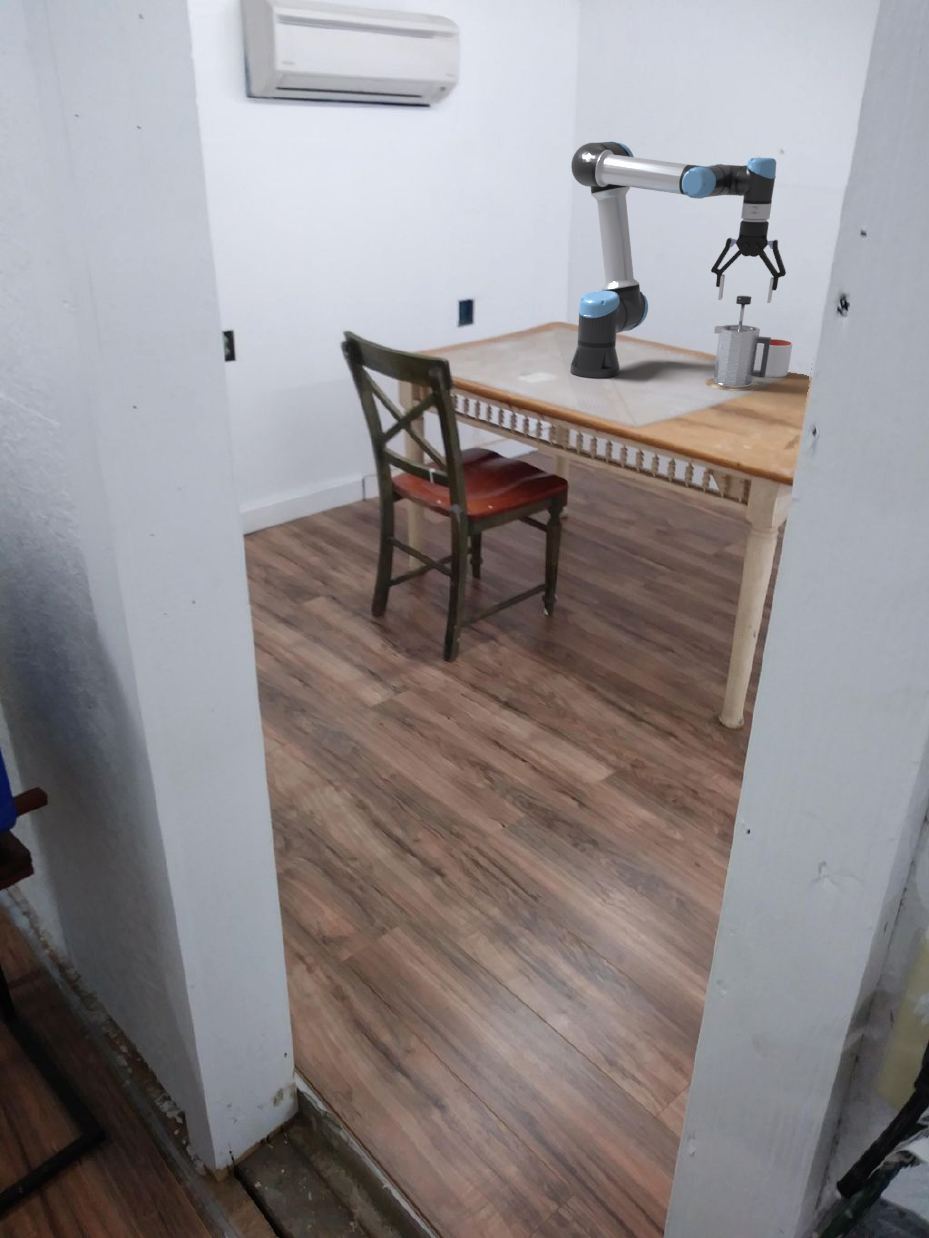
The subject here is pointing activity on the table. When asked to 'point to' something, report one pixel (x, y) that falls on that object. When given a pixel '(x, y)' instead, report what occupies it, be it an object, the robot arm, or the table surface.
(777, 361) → the cup
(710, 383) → the trivet
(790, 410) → the table surface
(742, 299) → the plunger
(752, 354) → the carafe
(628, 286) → the robot arm
